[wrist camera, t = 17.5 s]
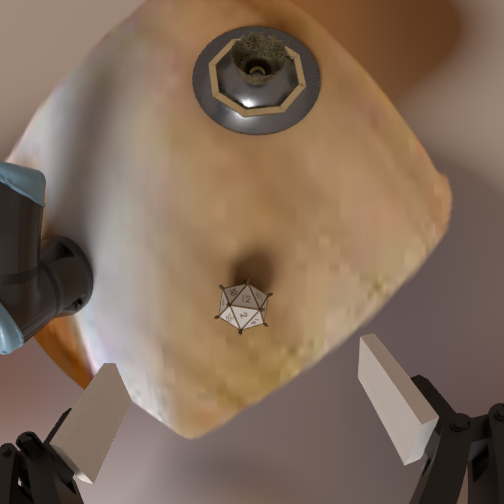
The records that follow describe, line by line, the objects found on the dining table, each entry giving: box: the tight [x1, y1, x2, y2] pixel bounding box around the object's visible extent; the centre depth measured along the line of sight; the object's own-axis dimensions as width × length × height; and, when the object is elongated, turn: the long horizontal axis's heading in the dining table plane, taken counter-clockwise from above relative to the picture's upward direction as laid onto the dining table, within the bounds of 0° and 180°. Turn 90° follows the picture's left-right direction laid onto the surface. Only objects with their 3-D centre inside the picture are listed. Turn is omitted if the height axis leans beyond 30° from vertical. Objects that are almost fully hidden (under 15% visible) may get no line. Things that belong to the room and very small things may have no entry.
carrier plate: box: [192, 27, 320, 135], centre depth 37 cm, size 20×20×2 cm
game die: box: [213, 279, 273, 335], centre depth 42 cm, size 9×8×10 cm
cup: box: [230, 31, 288, 85], centre depth 33 cm, size 8×7×8 cm
